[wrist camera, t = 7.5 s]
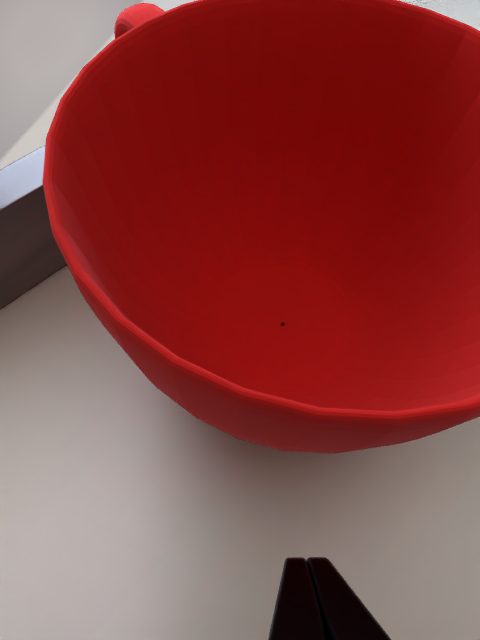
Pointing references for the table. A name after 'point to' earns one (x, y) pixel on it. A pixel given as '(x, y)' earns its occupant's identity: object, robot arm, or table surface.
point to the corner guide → (25, 228)
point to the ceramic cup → (282, 214)
